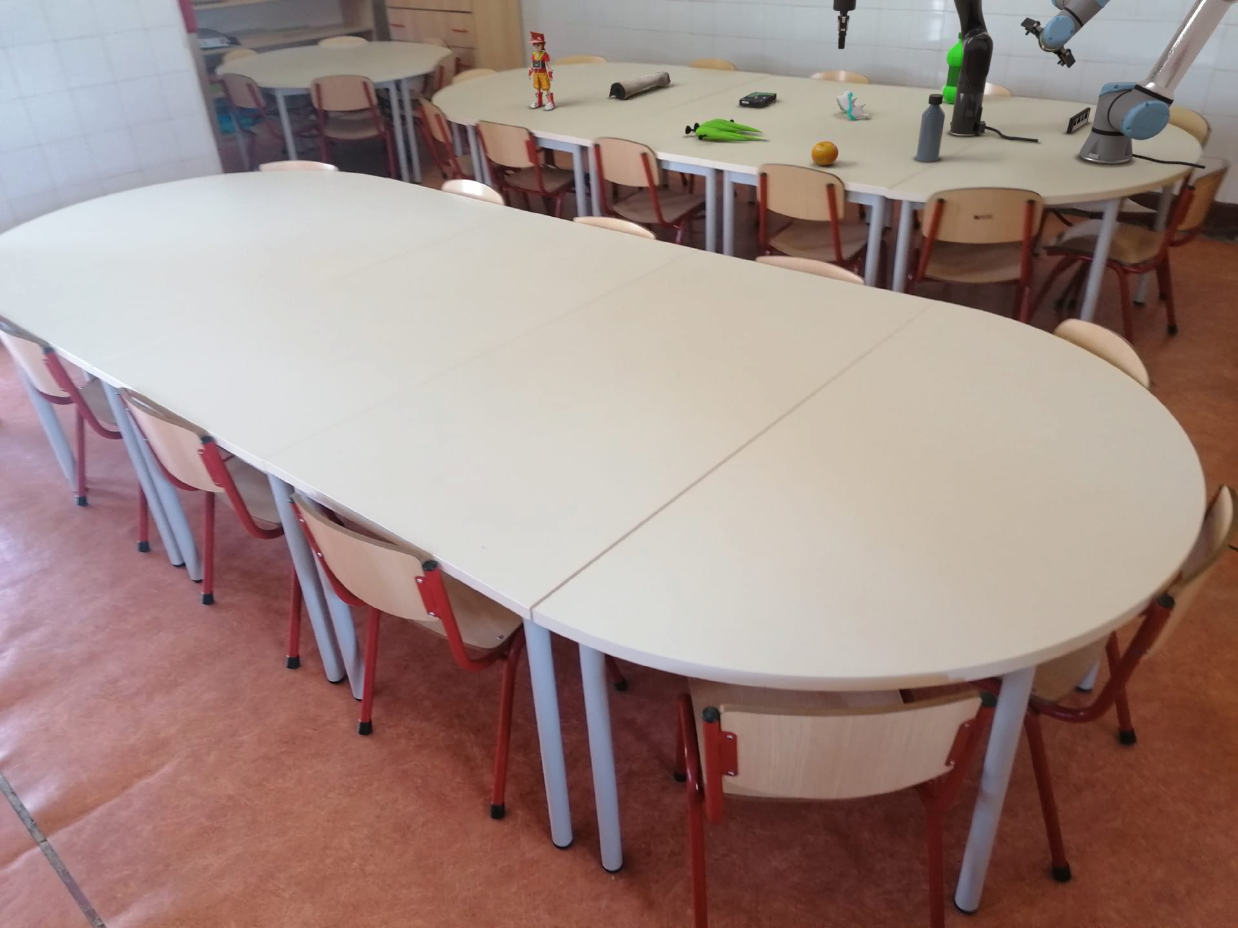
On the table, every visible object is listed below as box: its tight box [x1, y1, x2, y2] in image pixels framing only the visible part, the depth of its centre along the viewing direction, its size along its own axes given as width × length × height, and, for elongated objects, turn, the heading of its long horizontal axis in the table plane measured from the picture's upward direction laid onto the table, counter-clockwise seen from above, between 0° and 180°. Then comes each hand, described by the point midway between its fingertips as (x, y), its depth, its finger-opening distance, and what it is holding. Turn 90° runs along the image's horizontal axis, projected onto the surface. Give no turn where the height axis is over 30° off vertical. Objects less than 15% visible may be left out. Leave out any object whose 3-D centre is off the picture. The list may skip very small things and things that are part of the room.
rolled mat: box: [608, 71, 672, 101], centre depth 395 cm, size 30×9×10 cm
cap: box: [927, 93, 944, 106], centre depth 286 cm, size 4×4×2 cm
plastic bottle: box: [942, 31, 963, 104], centre depth 348 cm, size 10×10×25 cm
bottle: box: [915, 104, 946, 163], centre depth 291 cm, size 7×7×20 cm
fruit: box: [810, 140, 839, 166], centre depth 296 cm, size 8×8×8 cm
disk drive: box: [738, 91, 778, 109], centre depth 368 cm, size 10×3×15 cm
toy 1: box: [527, 31, 556, 111], centre depth 374 cm, size 12×9×30 cm
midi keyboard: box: [1066, 107, 1092, 134], centre depth 315 cm, size 18×1×5 cm, turn 138°
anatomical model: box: [836, 89, 870, 121], centre depth 344 cm, size 15×10×10 cm
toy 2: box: [684, 118, 766, 141], centre depth 330 cm, size 28×5×30 cm
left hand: (841, 46), depth 311 cm, fingers open, 8 cm apart
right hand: (1045, 46), depth 282 cm, fingers open, 13 cm apart
